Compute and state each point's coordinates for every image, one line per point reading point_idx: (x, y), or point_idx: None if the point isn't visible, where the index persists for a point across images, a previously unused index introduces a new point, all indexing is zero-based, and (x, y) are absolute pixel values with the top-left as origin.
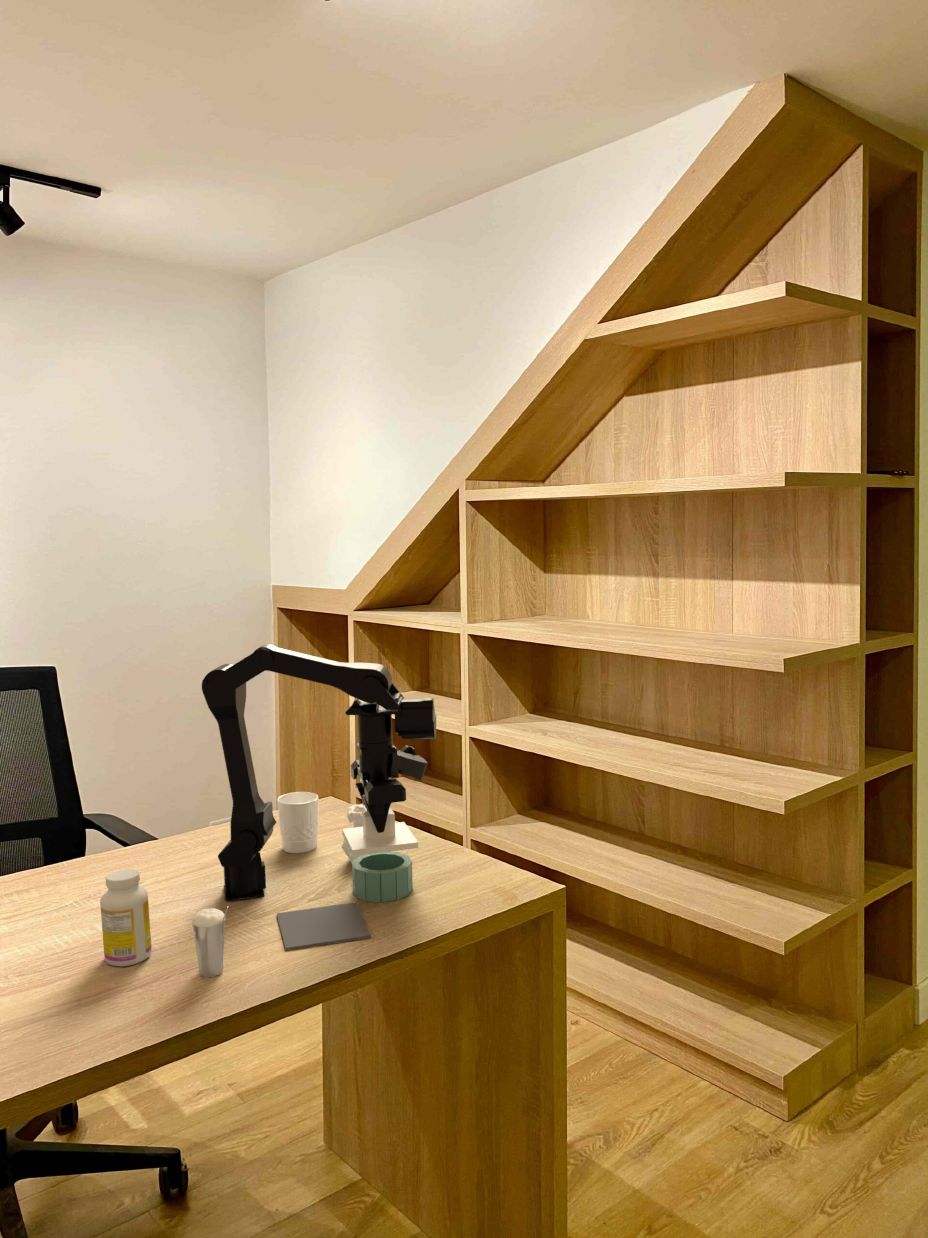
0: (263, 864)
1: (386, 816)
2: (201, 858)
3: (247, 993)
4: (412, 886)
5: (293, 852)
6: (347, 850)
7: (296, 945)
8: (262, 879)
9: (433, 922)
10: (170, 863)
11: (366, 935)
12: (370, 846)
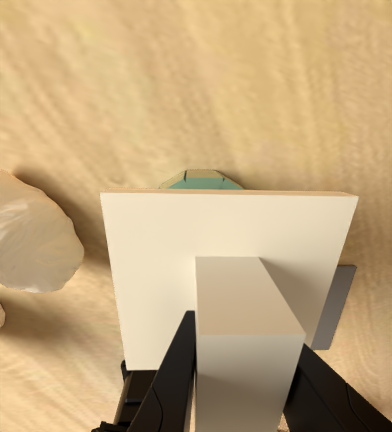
0: (142, 401)
1: (335, 376)
2: (19, 406)
3: (388, 374)
4: (217, 171)
5: (3, 321)
6: (70, 278)
7: (329, 341)
8: (153, 379)
9: (362, 170)
10: (34, 427)
11: (353, 272)
12: (304, 331)
